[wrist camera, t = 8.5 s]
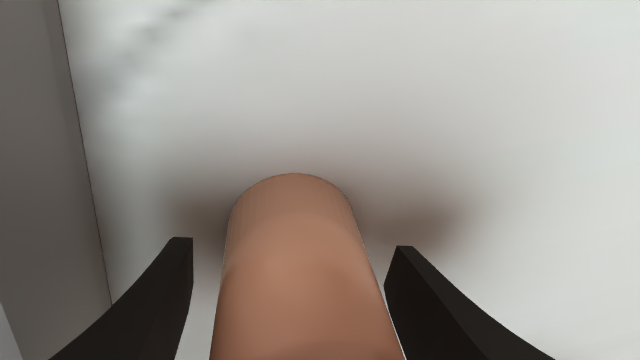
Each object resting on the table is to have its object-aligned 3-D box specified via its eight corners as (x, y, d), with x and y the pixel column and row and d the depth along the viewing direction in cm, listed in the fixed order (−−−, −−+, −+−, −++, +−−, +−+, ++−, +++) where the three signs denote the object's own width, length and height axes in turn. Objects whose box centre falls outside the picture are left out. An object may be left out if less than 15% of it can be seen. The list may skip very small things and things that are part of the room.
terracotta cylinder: (340, 274, 16) (384, 452, 10) (226, 271, 15) (202, 467, 9) (364, 178, 14) (439, 338, 8) (230, 168, 13) (201, 342, 7)
